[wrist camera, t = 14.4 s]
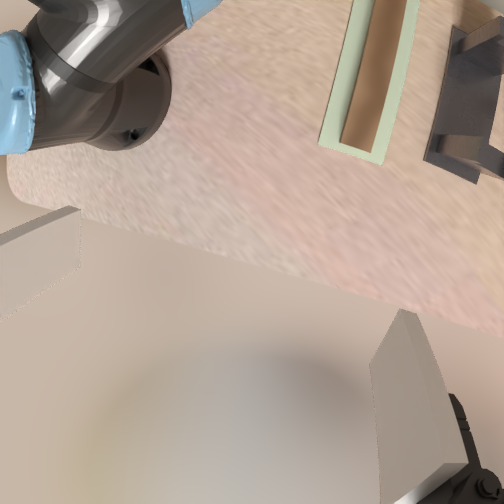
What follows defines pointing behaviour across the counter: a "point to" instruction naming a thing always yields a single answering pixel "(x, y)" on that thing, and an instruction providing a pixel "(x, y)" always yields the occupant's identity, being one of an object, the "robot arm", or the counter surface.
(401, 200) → the counter surface
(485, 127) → the rack
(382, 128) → the mat
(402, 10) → the rail
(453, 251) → the counter surface
